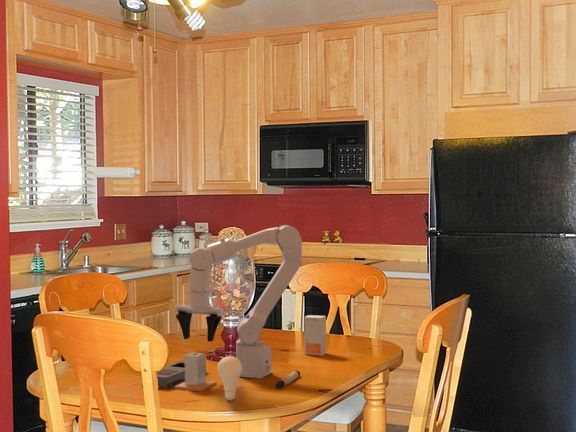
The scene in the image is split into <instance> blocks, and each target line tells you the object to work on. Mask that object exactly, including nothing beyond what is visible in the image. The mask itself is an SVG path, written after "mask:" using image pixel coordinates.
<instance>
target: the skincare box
mask: <svg viewBox="0 0 576 432" xmlns="http://www.w3.org/2000/svg"><path fill="white" fill-rule="evenodd" d="M303 321H304V325H303V326H304V327H303V328H304V330H303V331H304V335H303V336H304V337H303V338H304V347H303V348H304V351H303V352H304V355H310V356H321V357H323V356H324V355H325V354H327V316H326V315H313V314H309V315H305V316H304V319H303Z"/></svg>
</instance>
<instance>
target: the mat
mask: <svg viewBox="0 0 576 432" xmlns="http://www.w3.org/2000/svg"><path fill="white" fill-rule="evenodd" d="M216 384H217V382H216V381H211V380H210V381H209V380H206V383H205V384H203V385H200V386H189V385H185V382H182V383H180V384H178V385H175V386H173V387H174V388H173V389H174V390H175V389H176V390H184V389H186V391H187V390H188V391H197V392H203V391H204V390H206V389H208V387H209V388H210V386H211V387H212V385H213V386H214V385H216Z"/></svg>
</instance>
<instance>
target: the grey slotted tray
mask: <svg viewBox="0 0 576 432" xmlns="http://www.w3.org/2000/svg"><path fill="white" fill-rule="evenodd" d="M163 367H164V366H163ZM157 378H158V386H159V388H158V389H166V390H168V389H170V388H172V387H174V386H176V385H178V384H181V383H183V382H185V359H181V360H178V361H176V362H173V363H170V364H167V365H165V367H164V369H163V370H161V371H159V372H157Z"/></svg>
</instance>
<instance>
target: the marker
mask: <svg viewBox="0 0 576 432" xmlns="http://www.w3.org/2000/svg"><path fill="white" fill-rule="evenodd" d="M300 376H301V372H300V371H299V370H295V371H292V372H291V373H289V374H288V375H286V376H285V377H283V378H281V379H279V380H278V381H276V383H275V388H276V389H281V388H284V387H286V386H287V385H288V384H290V383H292V382H293V381H295V380H297V379H298V378H299V377H300Z"/></svg>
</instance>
